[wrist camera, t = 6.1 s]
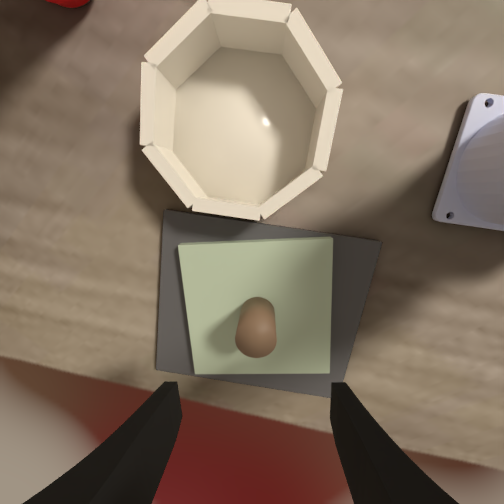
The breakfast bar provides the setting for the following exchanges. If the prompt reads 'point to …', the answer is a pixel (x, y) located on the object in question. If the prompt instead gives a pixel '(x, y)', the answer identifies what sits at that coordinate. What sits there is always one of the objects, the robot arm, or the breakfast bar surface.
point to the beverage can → (70, 3)
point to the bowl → (238, 107)
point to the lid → (259, 305)
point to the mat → (224, 229)
